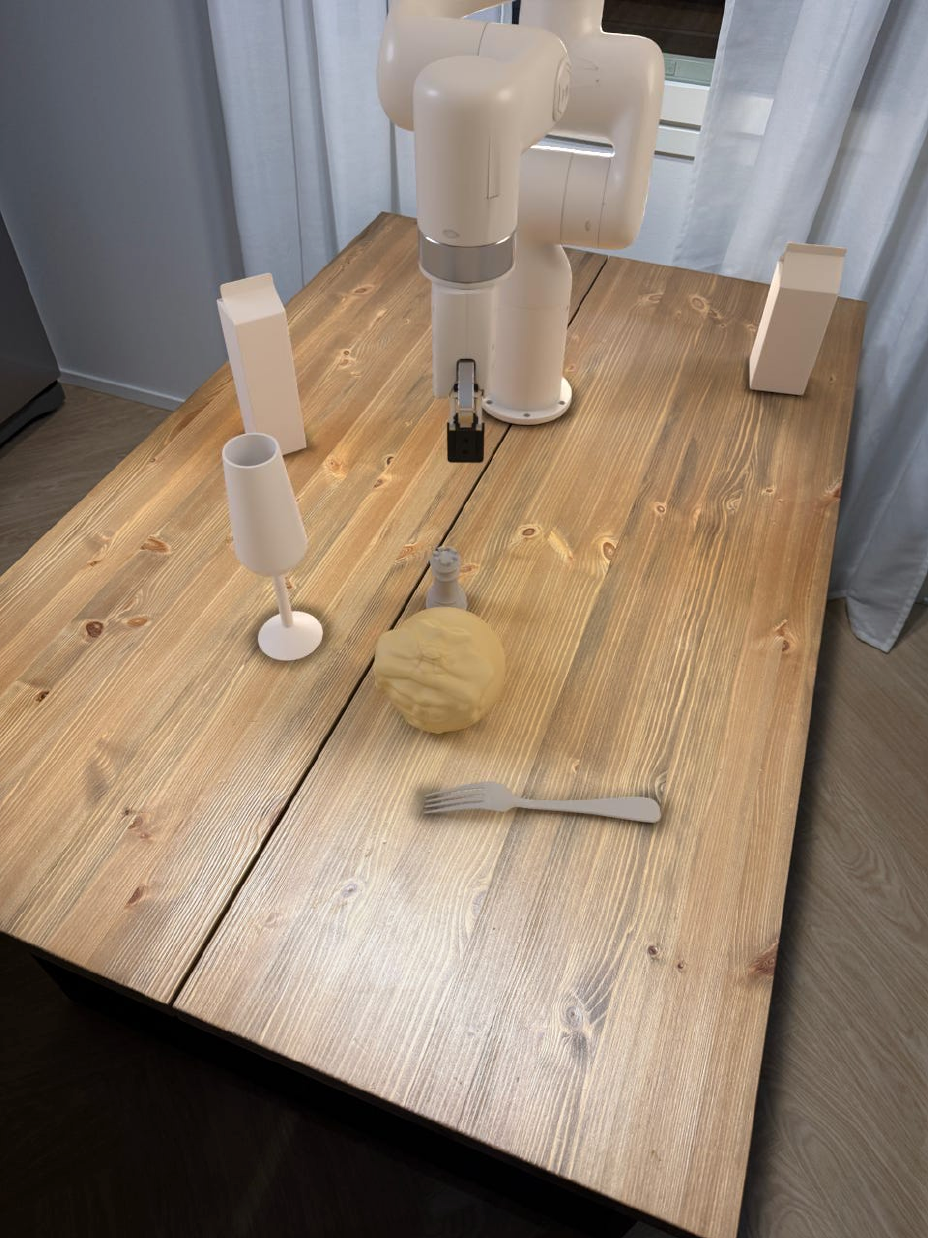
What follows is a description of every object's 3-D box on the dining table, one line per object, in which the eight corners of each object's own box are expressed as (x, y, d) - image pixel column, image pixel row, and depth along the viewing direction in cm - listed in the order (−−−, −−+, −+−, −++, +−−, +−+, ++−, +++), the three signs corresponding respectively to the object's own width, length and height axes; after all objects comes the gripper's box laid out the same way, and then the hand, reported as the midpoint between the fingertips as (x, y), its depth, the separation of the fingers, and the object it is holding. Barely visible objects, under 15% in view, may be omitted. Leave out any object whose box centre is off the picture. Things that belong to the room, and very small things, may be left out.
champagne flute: (270, 669, 89) (223, 485, 71) (248, 624, 93) (199, 438, 75) (332, 646, 91) (303, 461, 73) (309, 603, 95) (275, 417, 77)
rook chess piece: (474, 600, 96) (475, 546, 90) (456, 628, 93) (456, 575, 87) (436, 587, 97) (435, 533, 91) (418, 615, 94) (415, 561, 88)
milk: (307, 448, 112) (283, 284, 96) (261, 462, 110) (229, 298, 94) (288, 422, 116) (262, 259, 99) (244, 435, 114) (210, 272, 97)
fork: (654, 839, 80) (663, 824, 78) (423, 818, 78) (426, 803, 76) (650, 811, 82) (659, 796, 80) (425, 790, 80) (428, 774, 78)
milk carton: (802, 396, 121) (849, 262, 106) (749, 390, 121) (788, 255, 107) (800, 367, 125) (845, 234, 111) (748, 361, 126) (786, 228, 112)
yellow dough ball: (363, 728, 85) (353, 658, 77) (415, 639, 92) (411, 565, 84) (475, 768, 82) (477, 699, 74) (519, 673, 89) (526, 600, 81)
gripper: (422, 193, 74) (428, 369, 87) (413, 307, 63) (421, 489, 76) (512, 194, 74) (504, 370, 87) (519, 308, 63) (509, 490, 76)
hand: (465, 425), depth 81 cm, fingers open, 9 cm apart
